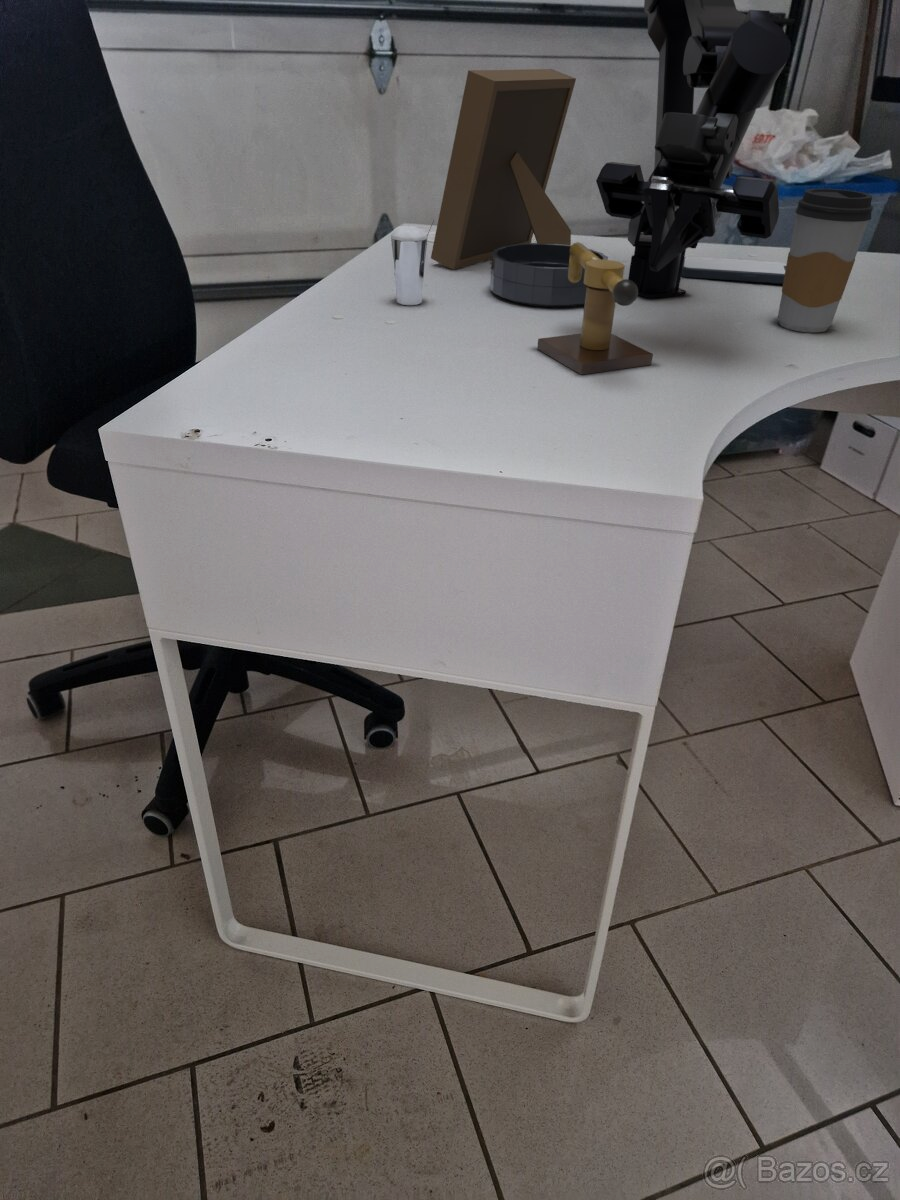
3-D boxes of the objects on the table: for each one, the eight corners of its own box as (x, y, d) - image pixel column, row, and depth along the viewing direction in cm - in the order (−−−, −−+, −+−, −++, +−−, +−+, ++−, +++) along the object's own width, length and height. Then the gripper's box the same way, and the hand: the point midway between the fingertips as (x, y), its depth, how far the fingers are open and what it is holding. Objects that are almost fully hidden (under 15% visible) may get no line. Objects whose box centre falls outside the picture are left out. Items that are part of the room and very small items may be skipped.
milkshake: (428, 308, 105) (429, 223, 99) (387, 305, 106) (386, 220, 100) (436, 299, 109) (437, 216, 103) (396, 296, 109) (396, 214, 104)
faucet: (643, 332, 81) (651, 282, 78) (603, 333, 81) (610, 282, 78) (588, 280, 98) (593, 238, 95) (555, 280, 97) (559, 238, 95)
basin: (563, 276, 121) (567, 240, 118) (624, 303, 110) (630, 263, 107) (471, 285, 115) (472, 247, 113) (525, 313, 104) (528, 272, 101)
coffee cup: (837, 321, 106) (874, 191, 97) (840, 339, 99) (880, 201, 91) (769, 313, 108) (800, 185, 99) (767, 330, 101) (800, 195, 93)
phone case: (678, 279, 123) (791, 286, 120) (680, 267, 122) (794, 275, 119) (680, 266, 130) (787, 273, 127) (682, 255, 129) (789, 262, 126)
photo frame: (430, 265, 125) (433, 68, 110) (508, 243, 139) (519, 67, 125) (513, 282, 118) (528, 74, 104) (586, 257, 132) (607, 72, 118)
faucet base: (604, 340, 96) (613, 273, 92) (651, 364, 89) (663, 293, 85) (537, 349, 93) (543, 280, 88) (581, 374, 86) (589, 301, 82)
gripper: (616, 73, 85) (553, 204, 83) (801, 83, 76) (734, 230, 75) (636, 153, 95) (580, 272, 93) (802, 170, 86) (743, 301, 85)
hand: (653, 268), depth 86 cm, fingers closed
